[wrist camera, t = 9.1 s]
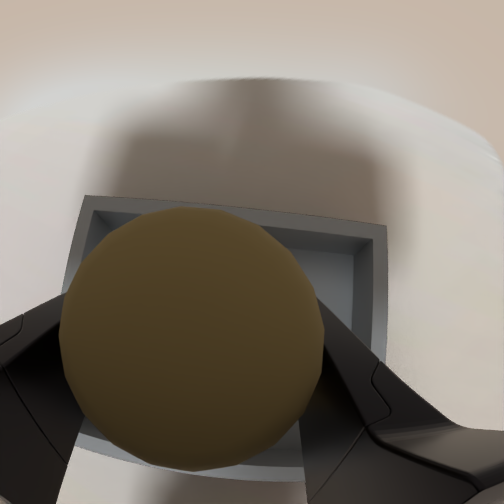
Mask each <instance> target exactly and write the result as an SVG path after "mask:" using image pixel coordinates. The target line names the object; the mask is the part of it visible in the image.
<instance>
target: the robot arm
mask: <svg viewBox="0 0 504 504" xmlns="http://www.w3.org/2000/svg"><path fill="white" fill-rule="evenodd" d="M66 293H67V292H65V293H63V294H61V295H59V296H57V297H55V298H53V299H51V300H49V301H47V302H45V303H43V304H41V305H39V306H37V307H35V308H33V309H31V310H29V311H27V312H25V313H24V315H23V314H21V315H19V316H17V317H15V318H13V319H11V320H9V321H7V322H5V323H3V324H1V325H0V504H56V502H57V498H58V495H59V491H60V488H61V485H62V482H63V479H64V475H65V472H66V469H67V465H68V463H69V460H70V457H71V454H72V451H73V448H74V445H75V442H76V439H77V437H78V434H79V431H80V428H81V426H82V423H83V420H84V418H85V415H84V414H83V412H82V410H81V408H80V406H79V404H78V402H77V400H76V398H75V396H74V394H73V392H72V390H71V388H70V386H69V384H68V382H67V380H66V378H65V374H64V368H63V362H62V356H61V349H60V342H59V329H60V321H61V315H62V308H63V302H64V297H65V295H66ZM316 298H317V297H316ZM317 302H318V306H319V310H320V314H321V317H322V321H323V325H324V329H325V330H324V345H323V359H322V372H321V375H320V377H319V380H318V382H317V385H316V387H315V389H314V392H313V394H312V396H311V399H310V401H309V403H308V406H307V408H306V410H305V412H304V414H303V415H302V416H301V417H300V418H299V419H298V422H299V430H300V439H301V447H302V456H303V465H304V474H305V484H306V493H307V502H308V504H504V431H498V430H483V429H472V428H467V427H463V426H460V425H458V424H456V423H454V422H452V421H451V420H449V419H448V418H447V417H445V416H444V415H443V414H442V413H440V412H439V411H438V410H437V409H436V408H434V407H433V406H432V405H431V404H429V403H428V402H427V401H426V400H424V399H423V398H422V397H421V396H420V395H418V394H417V393H416V392H415V391H414V390H412V389H411V388H410V387H409V386H408V385H407V384H405V383H404V382H403V381H402V380H401V379H400V378H399V377H398V376H397V375H396V374H395V373H393V372H392V371H391V370H390V369H389V368H388V367H387V366H386V365H385V364H384V363H383V362H382V361H380V359H379V358H378V357H377V356H376V355H375V354H374V353H373V352H372V351H371V350H370V349H369V348H368V347H367V346H366V345H365V344H364V343H363V342H362V341H361V340H360V339H359V338H358V337H357V336H356V335H355V334H354V333H353V332H352V331H351V330H350V329H349V328H348V327H347V326H346V325H345V324H344V323H343V322H342V321H341V320H340V319H339V318H338V317H337V316H336V315H335V314H334V313H333V312H332V311H331V310H330V309H329V308H328V307H327V306H326V305H325V304H324V303H322V302H321V301H320V300H319V299H318V298H317ZM379 361H380V362H379Z"/></svg>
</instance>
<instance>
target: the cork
mask: <svg viewBox="0 0 504 504" xmlns="http://www.w3.org/2000/svg"><path fill="white" fill-rule="evenodd" d="M324 330H325V329H324V325H323V321H322V317H321V314H320V310H319V306H318V302H317V298H316V294H315V291H314V287H313V286H312V284H311V283H310V281H309V279H308V278H307V276H306V275H305V273H304V272H303V270H302V268H301V267H300V265H299V264H298V262H297V261H296V259H295V258H294V256H293V255H292V253H291V252H290V251H289V250H288V249H287V248H286V247H284V246H283V245H282V244H281V243H280V242H278V241H277V240H276V239H275V238H274V237H272V236H271V235H270V234H269V233H268V232H266V231H265V230H264V229H263V228H261V227H260V226H259V225H257V224H255V223H252V222H250V221H247V220H245V219H243V218H240V217H238V216H235V215H233V214H230V213H228V212H225V211H223V210H220V209H208V208H197V207H185V206H179V207H174V208H170V209H165V210H160V211H156V212H151V213H147V214H142V215H140V216H139V217H137V218H135V219H133V220H132V221H130V222H128V223H126V224H124V225H123V226H121V227H119V228H117V229H116V230H114V231H112V232H111V233H109V234H108V235H107V236H106V237H105V238H104V239H103V240H102V241H101V242H100V243H99V244H98V245H97V246H96V247H95V248H94V249H93V250H92V252H91V253H90V254H89V255H88V256H87V257H86V258H85V259H84V260H83V261H82V262H81V264H80V266H79V268H78V270H77V272H76V274H75V276H74V278H73V280H72V282H71V284H70V286H69V288H68V291H67V293H66V295H65V297H64V302H63V308H62V315H61V321H60V329H59V342H60V349H61V356H62V362H63V368H64V374H65V378H66V380H67V382H68V384H69V386H70V388H71V390H72V392H73V394H74V396H75V398H76V400H77V402H78V404H79V406H80V408H81V410H82V412H83V414H84V415H85V416H86V417H87V418H88V419H89V420H90V422H91V423H92V424H93V425H94V426H95V427H96V428H97V429H98V430H99V431H100V432H101V433H102V434H103V435H104V436H105V437H106V438H107V439H108V440H109V441H110V442H111V443H112V444H113V445H115V446H117V447H118V448H120V449H122V450H124V451H126V452H127V453H129V454H131V455H133V456H135V457H137V458H139V459H141V460H143V461H144V462H146V463H148V464H150V465H155V466H160V467H166V468H171V469H177V470H183V471H190V472H197V471H205V470H212V469H218V468H224V467H230V466H236V465H238V464H240V463H242V462H244V461H246V460H248V459H250V458H252V457H254V456H255V455H257V454H259V453H261V452H263V451H265V450H267V449H268V448H270V447H272V446H274V445H275V444H276V443H277V442H278V441H279V440H280V439H281V438H282V437H283V436H284V435H285V434H286V432H287V431H288V430H289V429H290V428H291V427H292V426H293V425H294V424H295V423H296V422H297V420H298V419H299V418H300V417H301V416H302V415H303V414H304V412H305V410H306V408H307V406H308V403H309V401H310V399H311V396H312V394H313V392H314V389H315V387H316V385H317V382H318V380H319V377H320V375H321V372H322V359H323V345H324Z"/></svg>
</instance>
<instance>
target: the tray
mask: <svg viewBox="0 0 504 504" xmlns="http://www.w3.org/2000/svg"><path fill="white" fill-rule="evenodd" d="M179 206H185V207H197V208H208V209H220V210H223V211H225V212H228V213H230V214H233V215H235V216H238V217H240V218H243V219H245V220H247V221H250V222H252V223H255V224H257V225H259V226H260V227H261V228H263V229H264V230H265V231H266V232H268V233H269V234H270V235H271V236H272V237H274V238H275V239H276V240H277V241H278V242H280V243H281V244H282V245H283V246H284V247H286V248H287V249H288V250H289V251H290V252H291V253H292V255H293V256H294V258H295V259H296V261H297V262H298V264H299V265H300V267H301V268H302V270H303V272H304V273H305V275H306V276H307V278H308V279H309V281H310V283H311V284H312V286H313V287H314V291H315V294H316V297H317V298H318V299H319V300H320V301H321V302H322V303H324V304H325V305H326V306H327V307H328V308H329V309H330V310H331V311H332V312H333V313H334V314H335V315H336V316H337V317H338V318H339V319H340V320H341V321H342V322H343V323H344V324H345V325H346V326H347V327H348V328H349V329H350V330H351V331H352V332H353V333H354V334H355V335H356V336H357V337H358V338H359V339H360V340H361V341H362V342H363V343H364V344H365V345H366V346H367V347H368V348H369V349H370V350H371V351H372V352H373V353H374V354H375V355H376V356H377V357H378V358H379V359H380V361H382V362H383V363H384V364H385V361H386V345H387V323H388V250H387V227H386V226H384V225H378V224H371V223H364V222H357V221H349V220H342V219H334V218H327V217H319V216H311V215H303V214H295V213H286V212H277V211H269V210H260V209H250V208H241V207H231V206H221V205H210V204H199V203H188V202H176V201H164V200H151V199H137V198H123V197H107V196H90V195H85V197H84V200H83V203H82V207H81V210H80V214H79V217H78V221H77V225H76V229H75V233H74V236H73V240H72V245H71V249H70V253H69V258H68V262H67V267H66V271H65V276H64V281H63V287H62V292H61V294H63V293H65V292H67V291H68V288H69V286H70V284H71V282H72V280H73V278H74V276H75V274H76V272H77V270H78V268H79V266H80V264H81V262H82V261H83V260H84V259H85V258H86V257H87V256H88V255H89V254H90V253H91V252H92V250H93V249H94V248H95V247H96V246H97V245H98V244H99V243H100V242H101V241H102V240H103V239H104V238H105V237H106V236H107V235H108V234H109V233H111V232H112V231H114V230H116V229H117V228H119V227H121V226H123V225H124V224H126V223H128V222H130V221H132V220H133V219H135V218H137V217H139V216H140V215H142V214H147V213H151V212H156V211H160V210H165V209H170V208H174V207H179ZM380 361H379V362H380ZM74 446H77V447H80V448H83V449H86V450H89V451H92V452H95V453H99V454H102V455H105V456H109V457H113V458H116V459H120V460H124V461H128V462H132V463H136V464H140V465H145V466H149V467H154V468H159V469H164V470H169V471H175V472H180V473H187V474H193V475H200V476H208V477H216V478H225V479H236V480H249V481H269V482H305V474H304V465H303V456H302V447H301V439H300V430H299V422H298V420H297V422H296V423H295V424H294V425H293V426H292V427H291V428H290V429H289V430H288V431H287V432H286V434H285V435H284V436H283V437H282V438H281V439H280V440H279V441H278V442H277V443H276V444H275V445H274V446H272V447H270V448H268V449H267V450H265V451H263V452H261V453H259V454H257V455H255V456H254V457H252V458H250V459H248V460H246V461H244V462H242V463H240V464H238V465H236V466H230V467H224V468H218V469H212V470H205V471H197V472H190V471H183V470H177V469H171V468H166V467H160V466H155V465H150V464H148V463H146V462H144V461H143V460H141V459H139V458H137V457H135V456H133V455H131V454H129V453H127V452H126V451H124V450H122V449H120V448H118V447H117V446H115V445H113V444H112V443H111V442H110V441H109V440H108V439H107V438H106V437H105V436H104V435H103V434H102V433H101V432H100V431H99V430H98V429H97V428H96V427H95V426H94V425H93V424H92V423H91V422H90V420H89V419H88V418H87V417H86V416H85V418H84V420H83V423H82V426H81V428H80V431H79V434H78V437H77V439H76V442H75V445H74Z"/></svg>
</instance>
